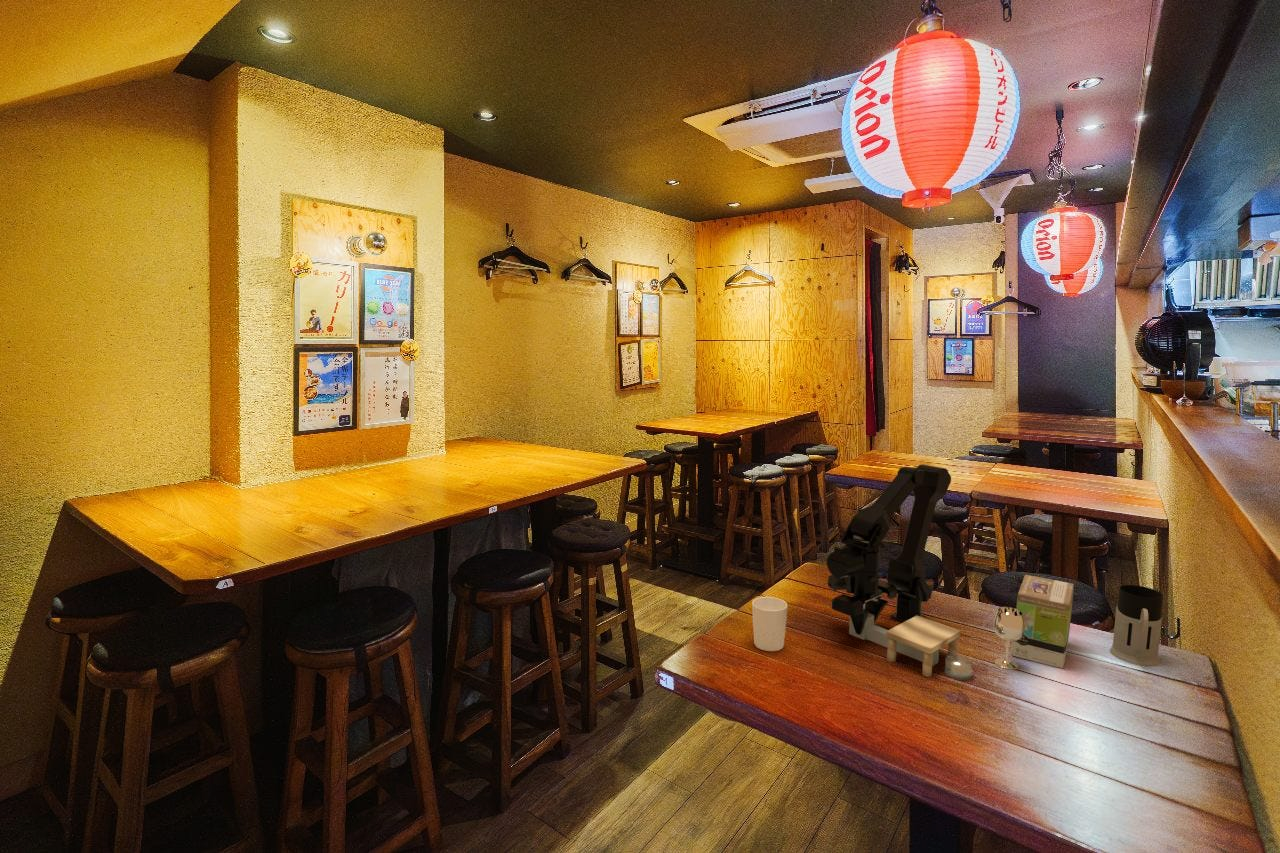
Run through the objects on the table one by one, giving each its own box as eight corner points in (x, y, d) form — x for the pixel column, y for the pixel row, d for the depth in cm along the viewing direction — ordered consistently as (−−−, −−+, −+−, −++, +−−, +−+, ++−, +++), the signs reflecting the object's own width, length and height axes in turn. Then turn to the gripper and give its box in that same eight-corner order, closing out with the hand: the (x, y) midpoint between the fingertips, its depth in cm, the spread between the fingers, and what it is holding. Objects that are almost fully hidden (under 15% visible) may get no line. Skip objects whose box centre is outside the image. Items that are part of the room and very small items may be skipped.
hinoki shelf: (915, 641, 145) (916, 615, 145) (959, 658, 138) (960, 630, 137) (884, 659, 137) (886, 631, 137) (929, 678, 130) (930, 648, 129)
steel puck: (952, 665, 135) (953, 652, 134) (975, 675, 131) (976, 662, 130) (940, 673, 132) (940, 659, 132) (963, 683, 128) (964, 669, 127)
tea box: (1065, 670, 132) (1070, 603, 130) (1010, 656, 138) (1015, 592, 136) (1069, 643, 144) (1074, 581, 142) (1018, 631, 150) (1023, 572, 148)
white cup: (783, 637, 148) (784, 597, 147) (788, 653, 140) (789, 611, 139) (750, 636, 149) (751, 596, 148) (753, 652, 141) (753, 610, 140)
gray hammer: (858, 629, 152) (859, 609, 151) (940, 661, 136) (941, 639, 136) (849, 633, 150) (849, 614, 149) (930, 667, 134) (932, 645, 133)
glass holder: (1156, 652, 139) (1163, 588, 137) (1167, 682, 127) (1175, 612, 125) (1107, 643, 144) (1113, 580, 142) (1114, 670, 132) (1120, 603, 130)
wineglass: (991, 667, 134) (995, 613, 132) (990, 655, 139) (994, 603, 137) (1022, 673, 131) (1027, 619, 130) (1021, 661, 136) (1025, 608, 135)
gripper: (858, 551, 159) (856, 609, 161) (812, 568, 147) (811, 630, 149) (899, 563, 150) (896, 624, 152) (854, 581, 139) (852, 648, 141)
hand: (863, 631), depth 149 cm, fingers closed on gray hammer, 4 cm apart
